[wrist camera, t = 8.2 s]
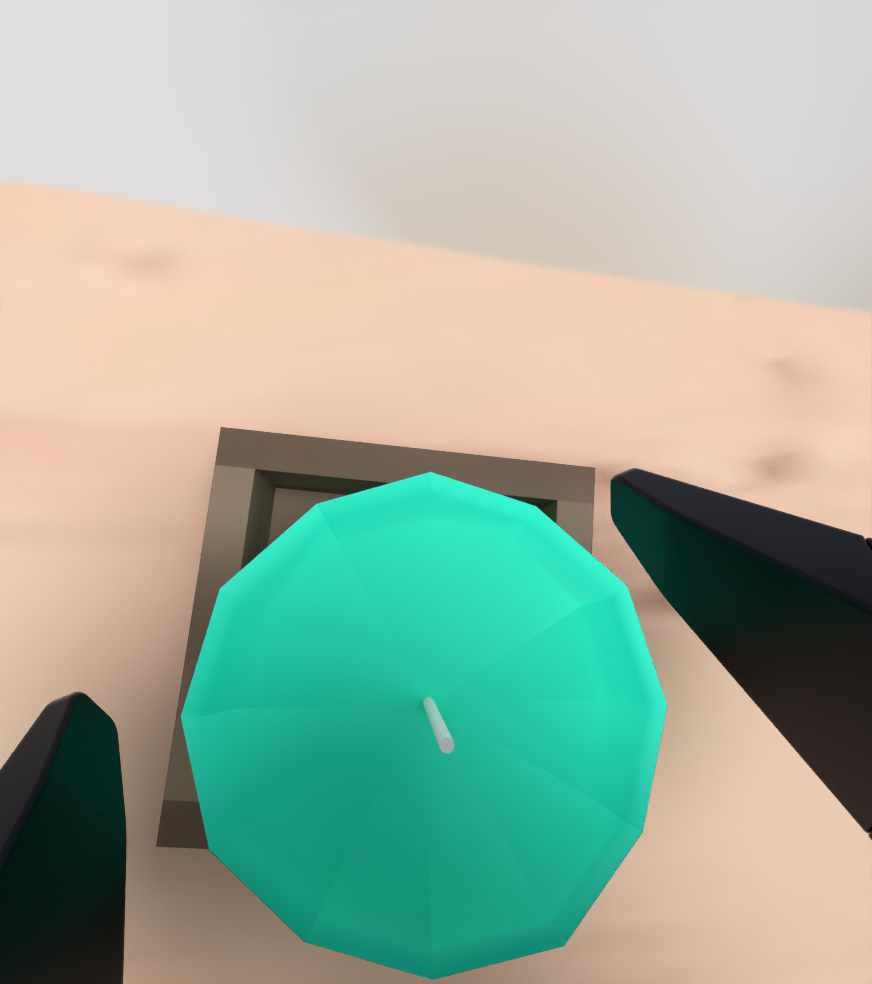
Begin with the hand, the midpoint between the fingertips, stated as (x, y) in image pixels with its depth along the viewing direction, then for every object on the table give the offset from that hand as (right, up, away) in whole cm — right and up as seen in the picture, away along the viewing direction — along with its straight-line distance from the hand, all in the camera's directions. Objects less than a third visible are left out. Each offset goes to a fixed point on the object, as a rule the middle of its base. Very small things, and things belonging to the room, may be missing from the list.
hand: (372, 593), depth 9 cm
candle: (0, -3, +8) cm, 9 cm away
